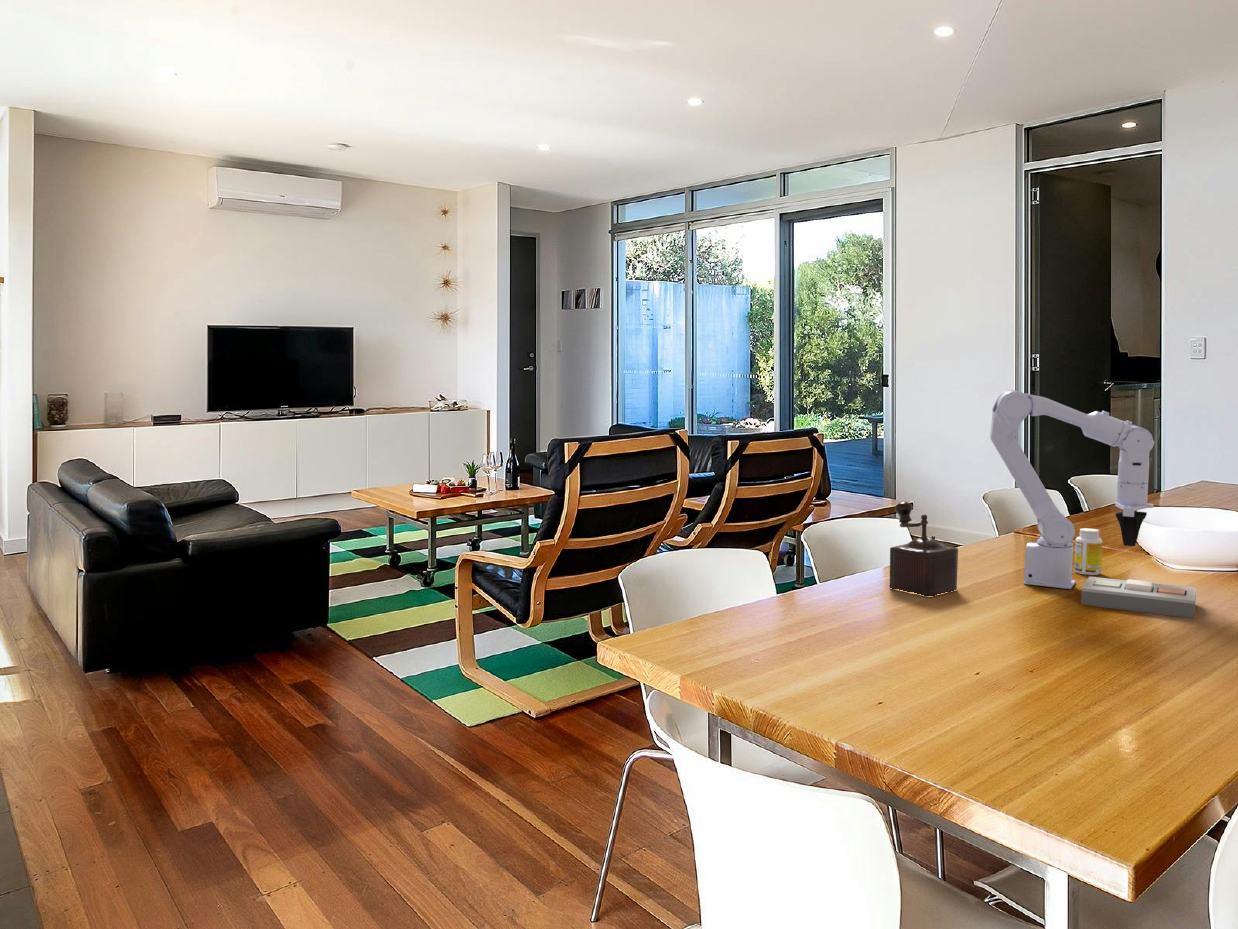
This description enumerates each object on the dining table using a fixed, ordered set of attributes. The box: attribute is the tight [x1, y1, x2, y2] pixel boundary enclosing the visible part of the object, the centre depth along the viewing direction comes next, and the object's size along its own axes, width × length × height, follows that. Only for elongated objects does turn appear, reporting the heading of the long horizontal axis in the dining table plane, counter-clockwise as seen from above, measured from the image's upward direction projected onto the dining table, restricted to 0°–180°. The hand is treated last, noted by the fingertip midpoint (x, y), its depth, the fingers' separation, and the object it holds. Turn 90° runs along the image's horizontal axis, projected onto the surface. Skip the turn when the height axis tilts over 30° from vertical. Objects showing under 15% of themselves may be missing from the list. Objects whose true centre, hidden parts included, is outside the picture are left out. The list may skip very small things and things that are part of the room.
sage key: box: [1094, 580, 1121, 588], centre depth 185 cm, size 4×4×2 cm
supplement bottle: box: [1074, 527, 1103, 576], centre depth 210 cm, size 6×6×10 cm
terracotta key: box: [1158, 586, 1185, 596], centre depth 179 cm, size 4×4×2 cm
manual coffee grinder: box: [889, 501, 959, 597], centre depth 197 cm, size 16×11×18 cm
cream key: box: [1126, 578, 1154, 592], centre depth 182 cm, size 4×4×2 cm
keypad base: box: [1080, 576, 1197, 619], centre depth 182 cm, size 19×12×3 cm, turn 57°
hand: (1129, 545), depth 195 cm, fingers closed
